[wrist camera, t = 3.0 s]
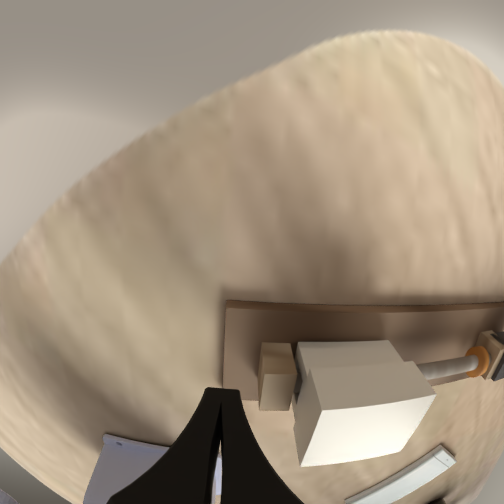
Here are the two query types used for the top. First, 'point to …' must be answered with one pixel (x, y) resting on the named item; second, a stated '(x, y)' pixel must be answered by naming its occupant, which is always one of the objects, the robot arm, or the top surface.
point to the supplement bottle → (438, 501)
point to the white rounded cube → (355, 401)
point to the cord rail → (357, 329)
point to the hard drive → (406, 479)
